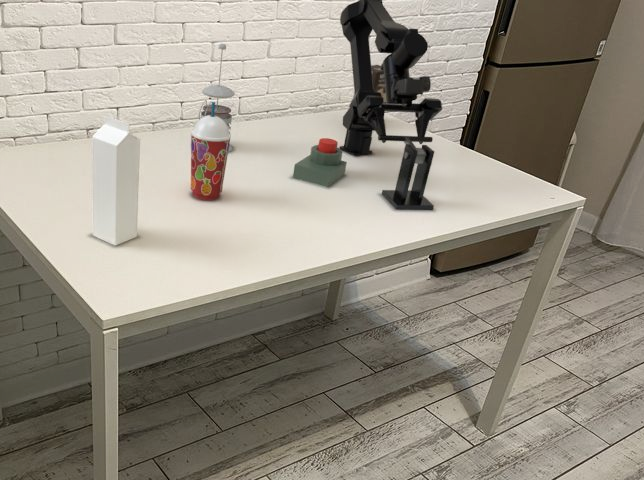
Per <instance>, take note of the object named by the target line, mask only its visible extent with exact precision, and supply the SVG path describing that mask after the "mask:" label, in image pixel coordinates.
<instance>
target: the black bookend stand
mask: <svg viewBox="0 0 644 480" xmlns="http://www.w3.org/2000/svg"><path fill="white" fill-rule="evenodd" d="M421 148H422V149H423V150H424V151H425V153H426V157H425V160H424V163H423V164H416V169H415V172H414V176H413V171H414V168H415V160H416V156H417V152H418V151H417V150H416V149H415V148H413V147H412V146H411V145H410V144H404V149H403V155H402V159H401V162H400V167H399V170H398V175H397V180H396V184H395V189H382V190H381V196H382V197H383V198H384V199H385V200H386V201H387V202H388V203H389V204H390V206H392V208H394V210H395V211H434V208H435V205H434V204H433V203H432V202H431V201H430V200H429V199H427V197H425V196H424V194H425V190H426V186H427V182H428V180H429V179H428V178H429V175H430V171H431V167H432V164H433V160H434V155H435V150H433V149H432V148H431V147H430V146H428V145H427V144H421ZM412 176H413V181H412V185H411V188H410V184H411V180H412ZM409 189H411V190H409Z"/></svg>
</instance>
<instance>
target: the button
mask: <svg viewBox="0 0 644 480" xmlns="http://www.w3.org/2000/svg"><path fill="white" fill-rule="evenodd" d="M338 144H339V142H338V141H337V140H336V139H333V138H328V137H327V138H326V137H323V138H320V139H319V140H318V144H317V145H318V151H320V152H323V153H330V154H332V153H336V149H337V148H338Z"/></svg>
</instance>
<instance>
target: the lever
mask: <svg viewBox="0 0 644 480" xmlns="http://www.w3.org/2000/svg"><path fill="white" fill-rule="evenodd" d="M377 140H378V141H379V142H382V141H386V142H403V143H404V145H406V144H410V145H411V146H412V147H413V148H415V149H416V150H417V151H418V152H417V156H416V160H415V164H416V165H418V164H423V163H424V160H425V157H426V153H425V151H424V150H423V149H422V147H416V145H415V144H414V143H419V142H423V143H432V142H433V136H425V137H420V136H417V135H394V134H393V135H390V134H386V135H379V136H378V135H377ZM415 164H414V165H415Z"/></svg>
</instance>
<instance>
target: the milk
mask: <svg viewBox="0 0 644 480" xmlns="http://www.w3.org/2000/svg"><path fill="white" fill-rule="evenodd" d="M130 129H131V128H130V124H129V123H128V122H126V121H122V120H121V119H120V120H119V119H116V118H115V117H111V116H108V115H104V116H103V125H101V126H100V127H99V128H98V130H97V131H96V132H95V133H94V134H93V135H92V138H91V140H92V141H91V143H92V145H91V146H92V147H91V149H92V150H91V155H92V160H91V161H92V163H91V164H92V167H91V168H92V169H91V170H92V171H91V172H92V176H91V177H92V179H91V180H92V181H91V182H92V183H91V184H92V191H91V192H92V193H91V194H92V197H91V198H92V199H91V200H92V208H91V209H92V210H91V211H92V212H91V213H92V216H91V217H92V236H93V237H95V238H98V239H99V240H102V241H104V242H106V243H108V244H111V245H112V246H118V245H121V244H123V243H126V242H128V241H131V240H132V239H135V238H137V237H138V222H139V221H138V220H139V219H138V218H139V191H140V190H139V188H140V158H141V138H139V137H138V136H136V135H134V134H133V133H131V132H130Z"/></svg>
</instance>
